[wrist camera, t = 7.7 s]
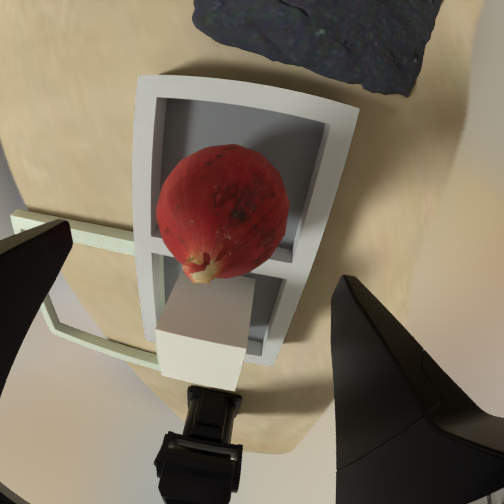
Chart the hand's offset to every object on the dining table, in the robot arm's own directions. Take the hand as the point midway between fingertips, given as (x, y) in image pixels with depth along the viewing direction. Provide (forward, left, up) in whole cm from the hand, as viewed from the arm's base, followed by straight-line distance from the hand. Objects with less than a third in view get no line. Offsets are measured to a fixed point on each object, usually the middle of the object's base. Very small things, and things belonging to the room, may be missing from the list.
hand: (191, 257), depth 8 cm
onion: (0, 0, -9) cm, 9 cm away
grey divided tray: (-5, 0, -10) cm, 11 cm away
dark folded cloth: (+17, -3, -10) cm, 20 cm away
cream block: (-10, 0, -9) cm, 13 cm away
